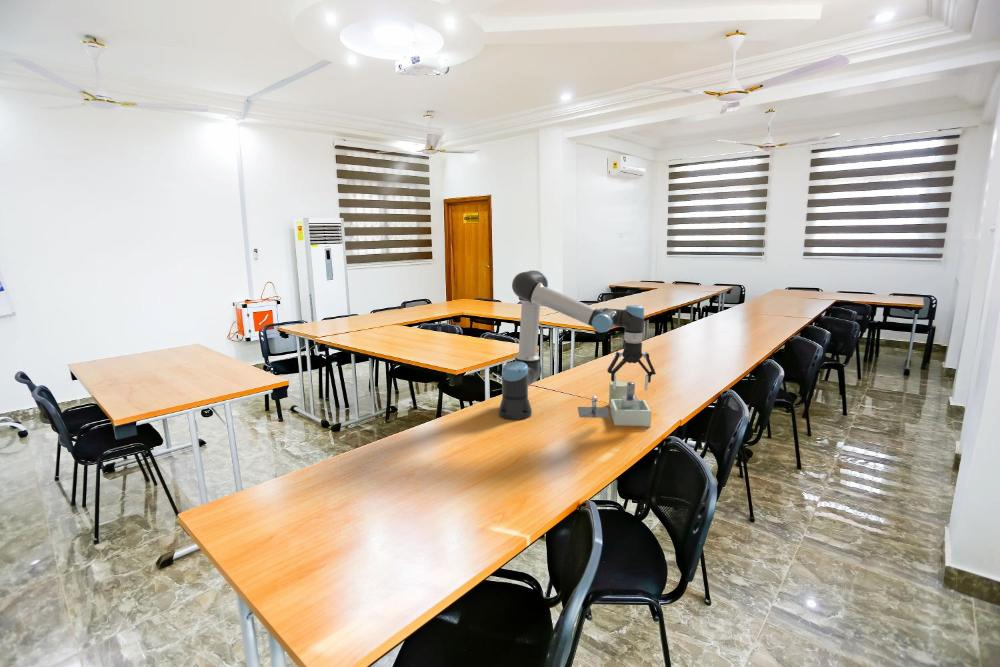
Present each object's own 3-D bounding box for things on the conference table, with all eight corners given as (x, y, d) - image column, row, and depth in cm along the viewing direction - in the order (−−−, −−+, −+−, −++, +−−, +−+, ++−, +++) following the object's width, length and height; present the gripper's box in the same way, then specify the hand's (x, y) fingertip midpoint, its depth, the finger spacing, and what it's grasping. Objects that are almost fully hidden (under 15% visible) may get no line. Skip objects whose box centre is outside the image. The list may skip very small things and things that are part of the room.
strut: (623, 420, 215) (624, 385, 212) (621, 415, 222) (622, 380, 219) (638, 420, 215) (640, 385, 212) (635, 415, 221) (637, 380, 218)
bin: (614, 425, 212) (615, 410, 211) (610, 413, 227) (611, 399, 225) (650, 426, 210) (651, 411, 209) (644, 414, 225) (644, 399, 224)
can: (604, 405, 238) (605, 381, 236) (620, 402, 242) (620, 378, 240) (616, 411, 230) (617, 386, 228) (632, 408, 234) (633, 383, 231)
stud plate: (579, 417, 222) (579, 400, 220) (577, 407, 235) (577, 391, 234) (611, 418, 220) (611, 401, 219) (607, 408, 234) (608, 391, 232)
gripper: (604, 342, 209) (601, 390, 214) (665, 344, 207) (661, 392, 211) (602, 338, 217) (600, 385, 221) (661, 340, 214) (657, 387, 218)
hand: (630, 389), depth 216 cm, fingers open, 13 cm apart
